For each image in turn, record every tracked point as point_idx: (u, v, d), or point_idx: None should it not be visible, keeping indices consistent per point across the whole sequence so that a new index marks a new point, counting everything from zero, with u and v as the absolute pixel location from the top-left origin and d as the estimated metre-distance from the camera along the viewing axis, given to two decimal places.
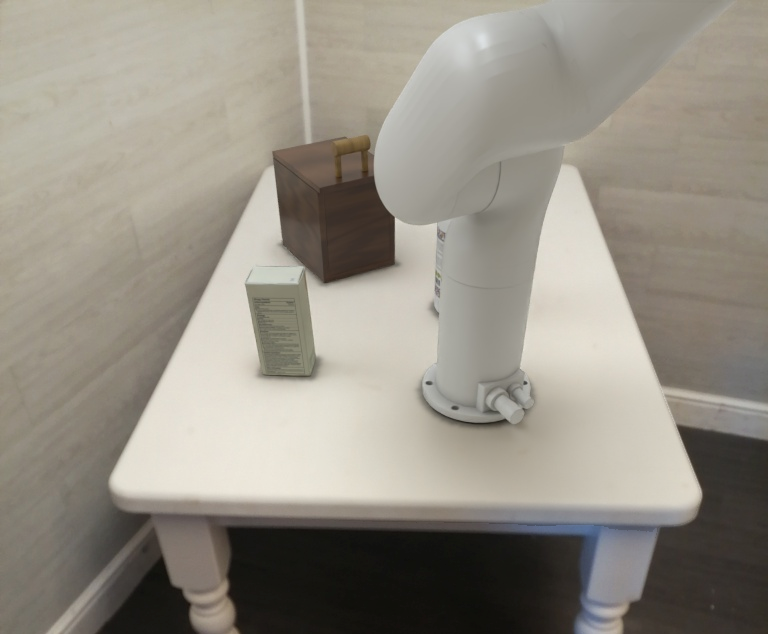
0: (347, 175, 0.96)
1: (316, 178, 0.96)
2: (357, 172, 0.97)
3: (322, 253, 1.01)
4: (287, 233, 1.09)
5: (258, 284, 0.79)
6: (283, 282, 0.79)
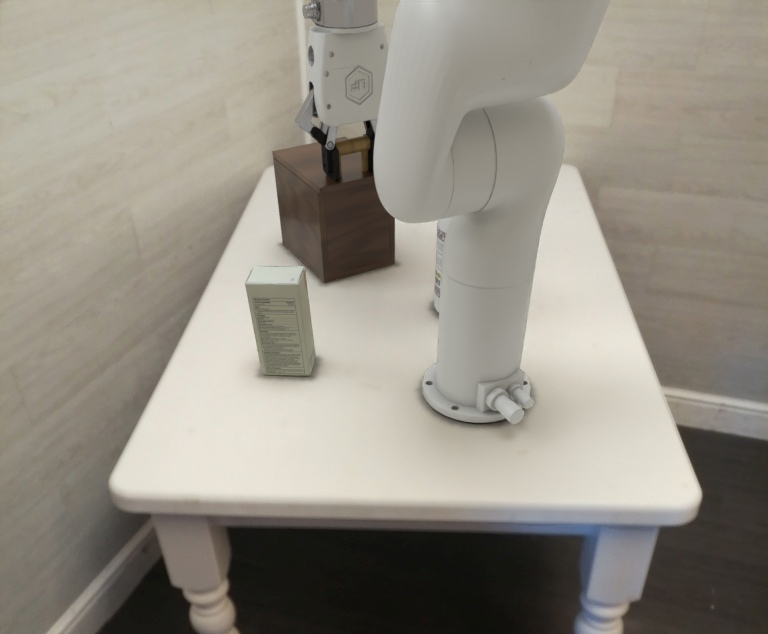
0: (347, 175, 0.96)
1: (316, 178, 0.96)
2: (357, 172, 0.97)
3: (322, 253, 1.01)
4: (287, 233, 1.09)
5: (259, 284, 0.79)
6: (283, 282, 0.79)
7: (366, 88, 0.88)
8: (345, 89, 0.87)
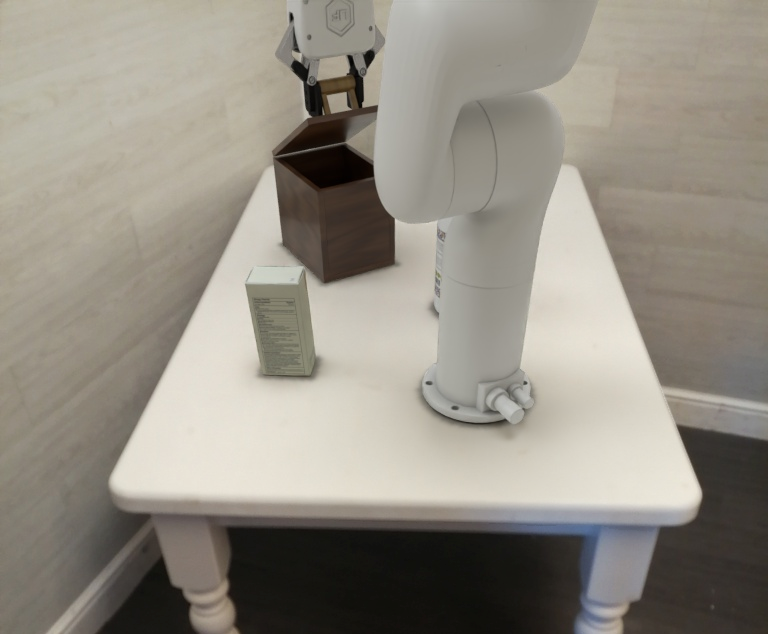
0: None
1: None
2: None
3: (322, 253, 1.01)
4: (287, 233, 1.09)
5: (258, 284, 0.79)
6: (283, 282, 0.79)
7: (347, 19, 0.86)
8: (326, 19, 0.85)
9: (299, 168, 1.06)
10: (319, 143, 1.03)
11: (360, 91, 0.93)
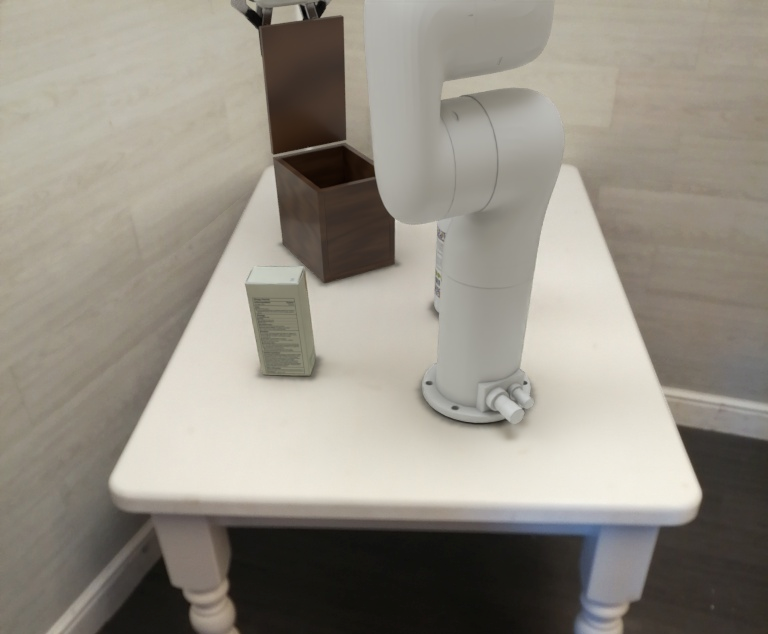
0: None
1: None
2: None
3: (322, 253, 1.01)
4: (287, 233, 1.09)
5: (258, 284, 0.79)
6: (283, 282, 0.79)
7: None
8: None
9: (299, 168, 1.06)
10: (311, 125, 1.03)
11: None
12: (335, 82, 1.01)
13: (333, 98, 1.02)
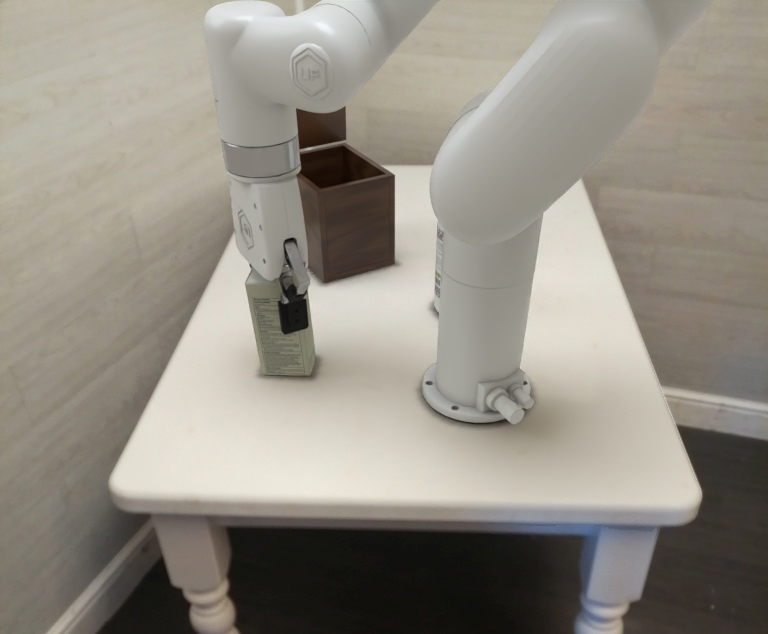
0: None
1: None
2: None
3: (322, 253, 1.01)
4: None
5: (259, 284, 0.79)
6: None
7: (250, 238, 0.75)
8: (240, 225, 0.77)
9: None
10: (311, 125, 1.03)
11: (280, 314, 0.79)
12: None
13: None
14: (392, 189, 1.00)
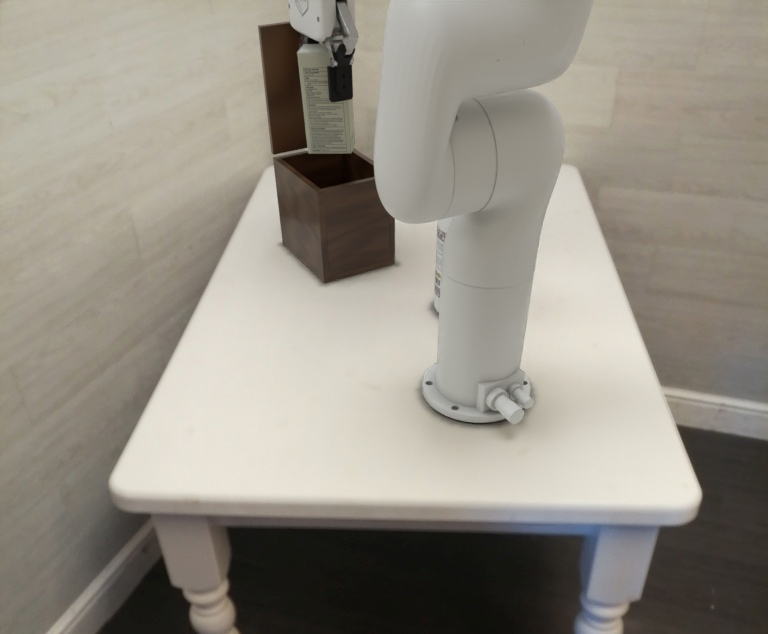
0: None
1: None
2: None
3: (322, 253, 1.01)
4: (287, 233, 1.09)
5: (309, 52, 0.90)
6: None
7: (305, 1, 0.86)
8: None
9: (299, 168, 1.06)
10: None
11: (328, 80, 0.90)
12: None
13: None
14: None
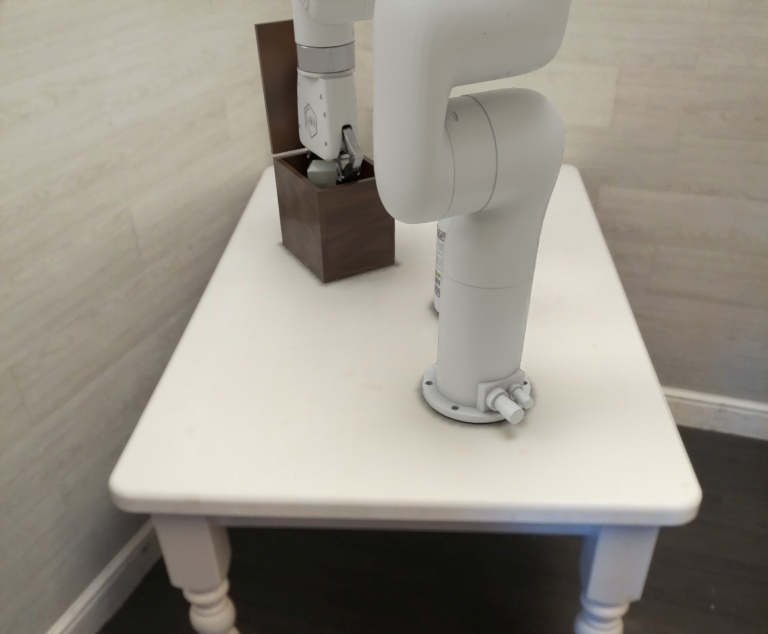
0: None
1: None
2: None
3: (322, 253, 1.01)
4: (287, 233, 1.09)
5: (318, 171, 1.00)
6: None
7: (314, 127, 0.96)
8: (305, 118, 0.97)
9: (299, 168, 1.06)
10: None
11: None
12: None
13: None
14: None
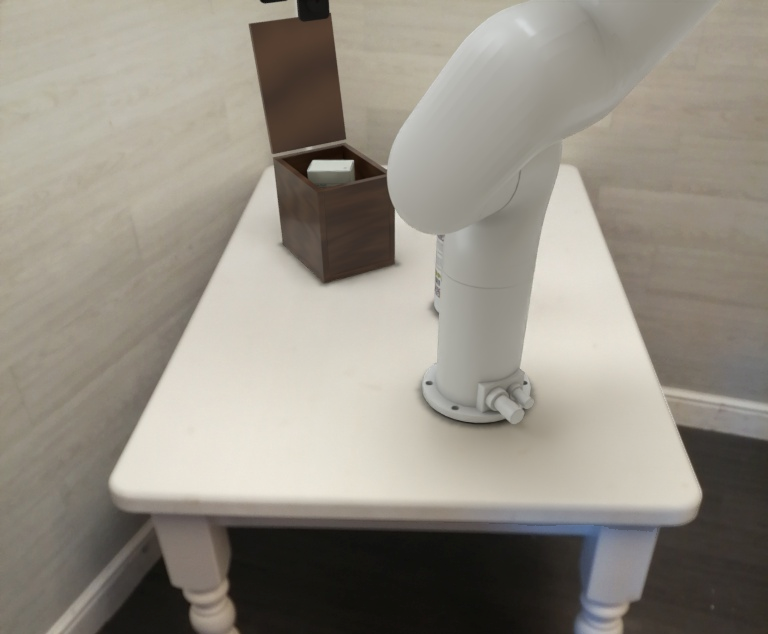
0: None
1: None
2: None
3: (322, 253, 1.01)
4: (287, 233, 1.09)
5: (318, 171, 1.00)
6: (338, 170, 1.00)
7: None
8: None
9: (299, 168, 1.06)
10: (309, 123, 1.04)
11: None
12: (329, 79, 1.02)
13: (328, 95, 1.03)
14: None
